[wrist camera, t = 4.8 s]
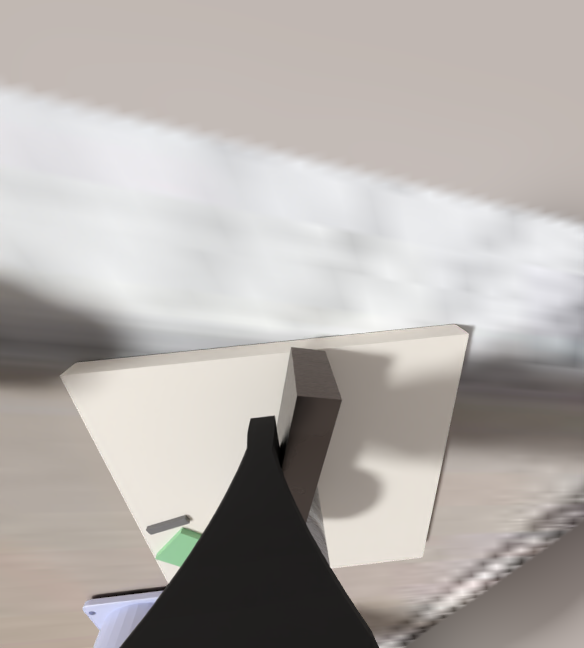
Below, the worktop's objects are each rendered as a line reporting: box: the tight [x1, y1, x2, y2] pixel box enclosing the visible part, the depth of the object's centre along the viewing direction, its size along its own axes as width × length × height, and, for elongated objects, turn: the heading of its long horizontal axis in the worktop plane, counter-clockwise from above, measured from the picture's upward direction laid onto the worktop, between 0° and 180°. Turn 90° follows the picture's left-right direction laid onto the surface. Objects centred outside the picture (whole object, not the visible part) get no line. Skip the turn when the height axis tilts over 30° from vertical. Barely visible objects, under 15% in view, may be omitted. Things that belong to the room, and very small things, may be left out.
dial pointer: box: [277, 347, 342, 566], centre depth 13 cm, size 17×4×4 cm, turn 171°
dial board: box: [60, 324, 469, 584], centre depth 15 cm, size 17×17×1 cm
